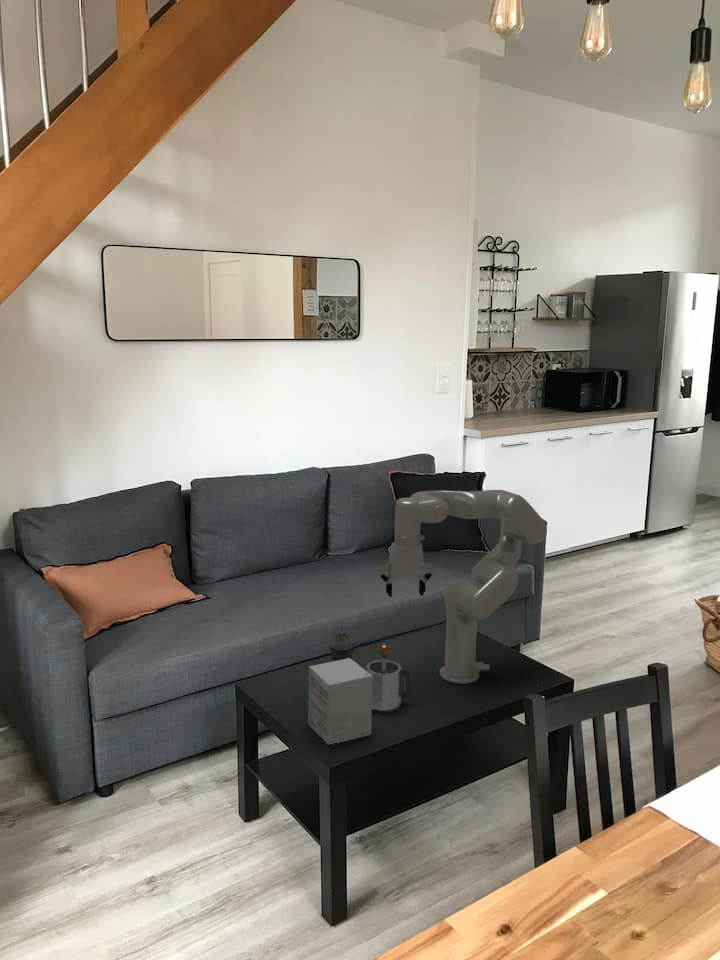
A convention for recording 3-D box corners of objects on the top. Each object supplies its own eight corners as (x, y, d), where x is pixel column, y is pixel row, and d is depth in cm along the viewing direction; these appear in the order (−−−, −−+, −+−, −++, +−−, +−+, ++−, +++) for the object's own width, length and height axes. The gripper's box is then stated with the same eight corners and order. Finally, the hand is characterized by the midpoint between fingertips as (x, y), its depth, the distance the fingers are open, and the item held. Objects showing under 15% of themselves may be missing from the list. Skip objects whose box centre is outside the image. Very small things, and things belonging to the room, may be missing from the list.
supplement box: (349, 714, 223) (350, 656, 219) (371, 735, 211) (373, 675, 208) (307, 724, 217) (307, 665, 213) (328, 746, 205) (328, 685, 202)
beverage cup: (354, 677, 246) (355, 617, 242) (351, 687, 239) (352, 626, 235) (331, 675, 247) (332, 616, 243) (328, 686, 240) (329, 624, 236)
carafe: (404, 695, 234) (405, 658, 232) (412, 712, 224) (413, 673, 222) (362, 698, 232) (363, 660, 230) (368, 715, 222) (369, 676, 220)
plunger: (393, 689, 232) (394, 638, 229) (398, 701, 224) (400, 648, 221) (368, 691, 231) (369, 639, 227) (372, 703, 223) (373, 649, 220)
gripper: (432, 535, 235) (430, 589, 238) (376, 537, 232) (374, 591, 235) (438, 542, 227) (436, 598, 231) (380, 543, 225) (379, 600, 228)
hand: (405, 594), depth 233 cm, fingers open, 9 cm apart
